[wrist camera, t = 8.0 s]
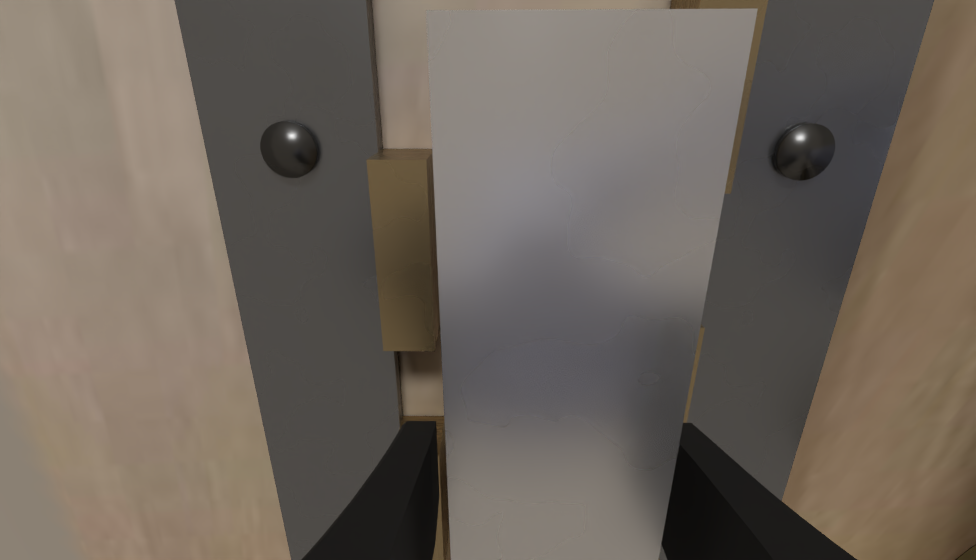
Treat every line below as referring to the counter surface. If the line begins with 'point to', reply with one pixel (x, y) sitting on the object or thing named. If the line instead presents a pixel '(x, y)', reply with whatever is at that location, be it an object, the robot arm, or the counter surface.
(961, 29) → the counter surface
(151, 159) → the counter surface
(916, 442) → the counter surface
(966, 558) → the cork
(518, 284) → the aluminum bar stock
